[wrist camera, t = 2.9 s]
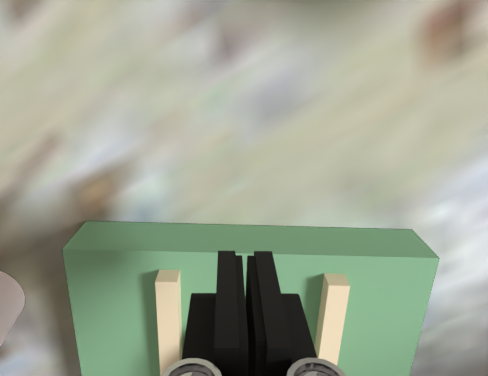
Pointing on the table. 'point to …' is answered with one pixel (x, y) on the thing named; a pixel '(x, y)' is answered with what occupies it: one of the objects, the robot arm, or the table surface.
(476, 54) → the table surface
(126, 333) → the green
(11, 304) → the smoothie
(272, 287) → the robot arm
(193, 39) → the table surface
